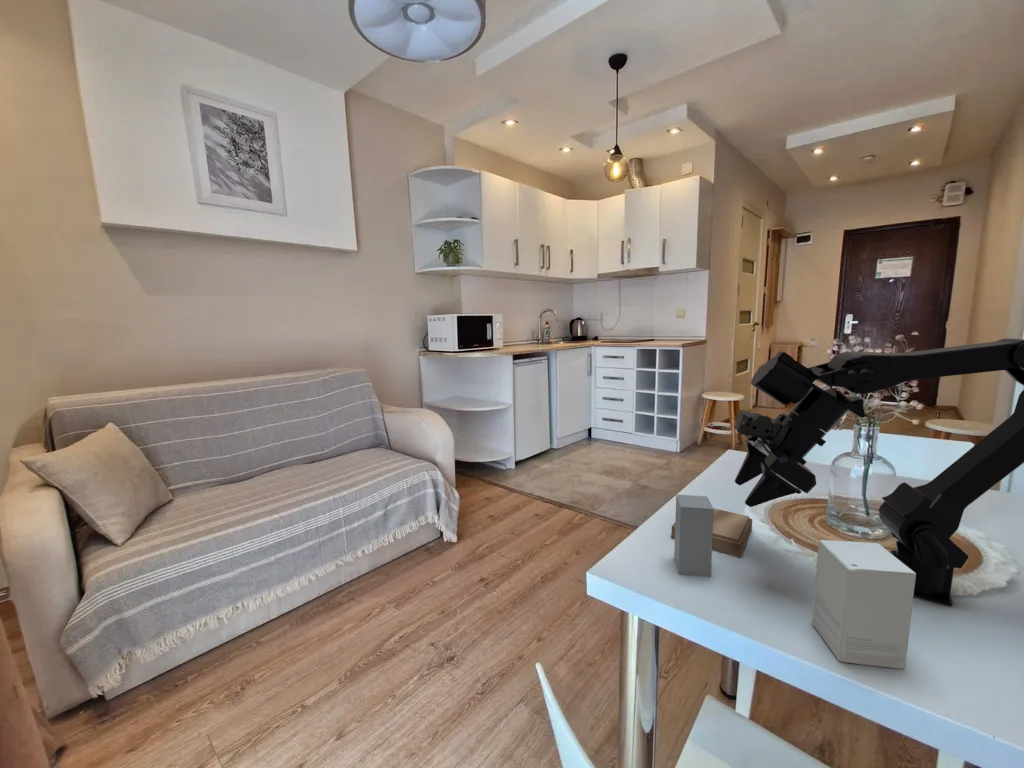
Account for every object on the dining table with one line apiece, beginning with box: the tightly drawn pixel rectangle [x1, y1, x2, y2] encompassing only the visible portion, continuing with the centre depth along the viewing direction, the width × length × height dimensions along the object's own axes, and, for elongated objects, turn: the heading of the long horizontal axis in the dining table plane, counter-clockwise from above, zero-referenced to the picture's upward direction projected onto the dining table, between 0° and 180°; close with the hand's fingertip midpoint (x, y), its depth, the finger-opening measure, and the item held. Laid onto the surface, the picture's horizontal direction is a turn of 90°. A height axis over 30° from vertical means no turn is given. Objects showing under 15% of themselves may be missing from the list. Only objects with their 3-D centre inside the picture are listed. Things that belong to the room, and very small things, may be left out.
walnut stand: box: [670, 507, 753, 558], centre depth 85 cm, size 12×12×3 cm
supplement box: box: [811, 539, 916, 670], centre depth 55 cm, size 7×7×13 cm
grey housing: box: [673, 494, 714, 578], centre depth 73 cm, size 5×5×12 cm
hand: (741, 493), depth 73 cm, fingers open, 9 cm apart
